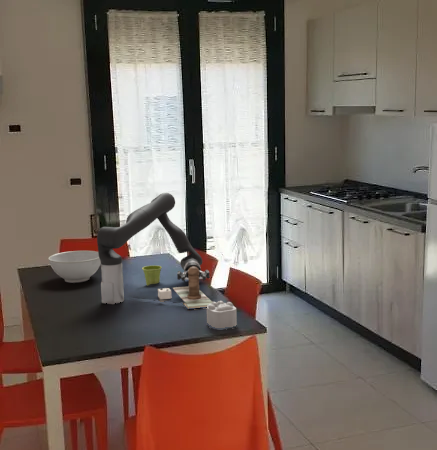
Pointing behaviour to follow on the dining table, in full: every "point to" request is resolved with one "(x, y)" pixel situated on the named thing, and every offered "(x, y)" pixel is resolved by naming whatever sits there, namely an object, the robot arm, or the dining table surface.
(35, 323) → the dining table surface
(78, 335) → the dining table surface
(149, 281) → the plant pot
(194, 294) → the pawn
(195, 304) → the game board
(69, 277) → the decorative bowl
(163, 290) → the die
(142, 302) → the dining table surface
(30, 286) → the dining table surface
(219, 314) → the lumpy-topped squat cylinder
